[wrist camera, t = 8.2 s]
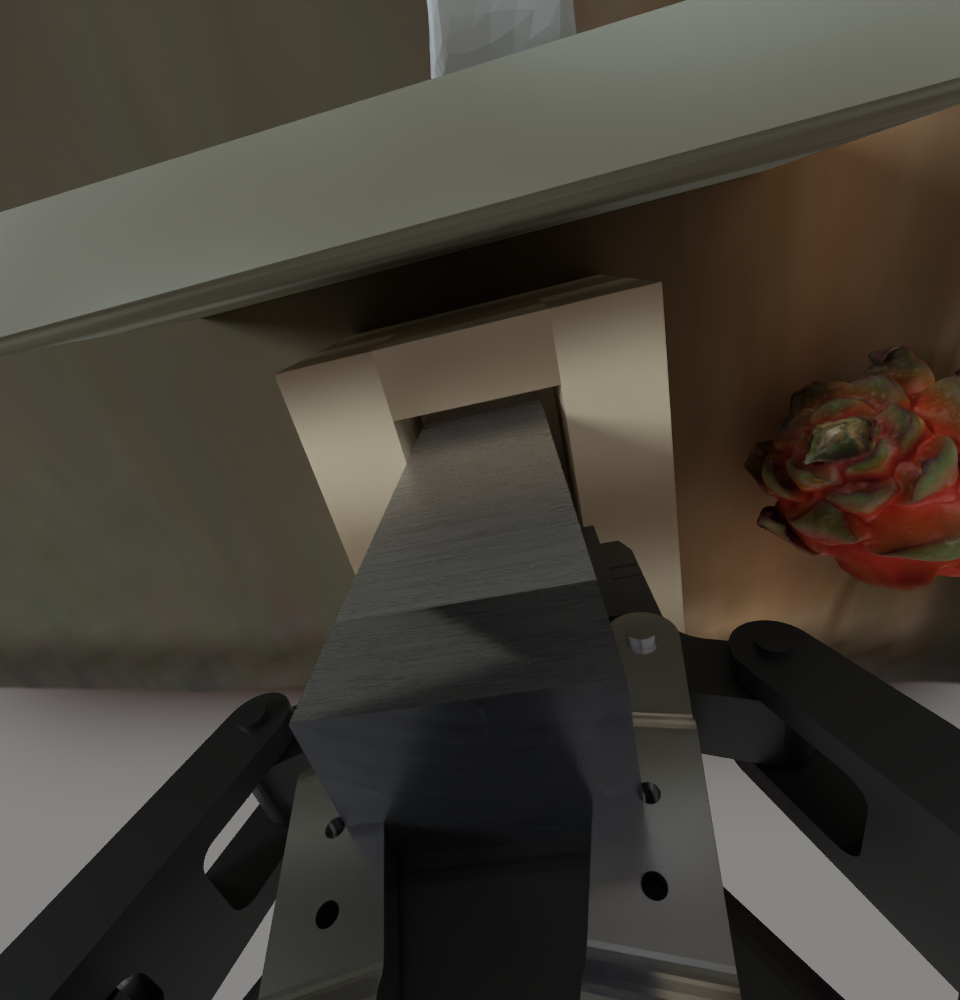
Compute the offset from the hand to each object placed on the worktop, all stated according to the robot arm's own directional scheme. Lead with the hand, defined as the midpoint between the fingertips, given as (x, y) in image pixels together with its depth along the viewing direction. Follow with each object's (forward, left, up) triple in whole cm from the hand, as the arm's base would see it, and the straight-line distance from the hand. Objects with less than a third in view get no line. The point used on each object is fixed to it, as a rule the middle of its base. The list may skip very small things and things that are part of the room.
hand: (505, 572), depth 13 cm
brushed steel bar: (0, 0, -5) cm, 5 cm away
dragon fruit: (+3, +15, -10) cm, 18 cm away
